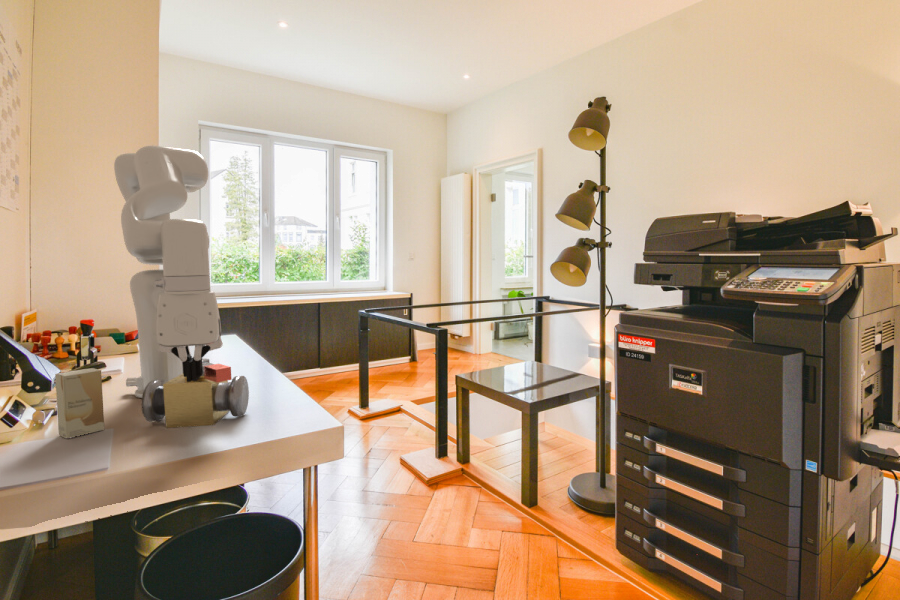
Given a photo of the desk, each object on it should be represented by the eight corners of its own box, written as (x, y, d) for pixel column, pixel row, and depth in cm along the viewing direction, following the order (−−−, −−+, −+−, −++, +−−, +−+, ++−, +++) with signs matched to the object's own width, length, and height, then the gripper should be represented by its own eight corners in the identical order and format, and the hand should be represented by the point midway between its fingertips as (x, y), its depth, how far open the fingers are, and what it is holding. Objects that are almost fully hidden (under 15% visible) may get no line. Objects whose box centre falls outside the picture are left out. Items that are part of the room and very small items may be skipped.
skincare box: (66, 440, 84) (61, 376, 83) (58, 435, 86) (52, 373, 85) (107, 429, 89) (102, 369, 88) (97, 425, 92) (92, 366, 91)
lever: (178, 372, 93) (177, 361, 93) (203, 368, 97) (203, 356, 97) (210, 383, 84) (209, 370, 84) (237, 378, 88) (236, 365, 88)
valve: (142, 429, 89) (138, 381, 88) (165, 414, 98) (161, 371, 97) (236, 423, 91) (233, 377, 90) (250, 409, 100) (247, 367, 99)
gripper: (134, 287, 79) (141, 388, 81) (227, 285, 83) (232, 381, 85) (149, 285, 86) (156, 378, 88) (234, 283, 90) (239, 372, 92)
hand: (193, 379), depth 86 cm, fingers closed
